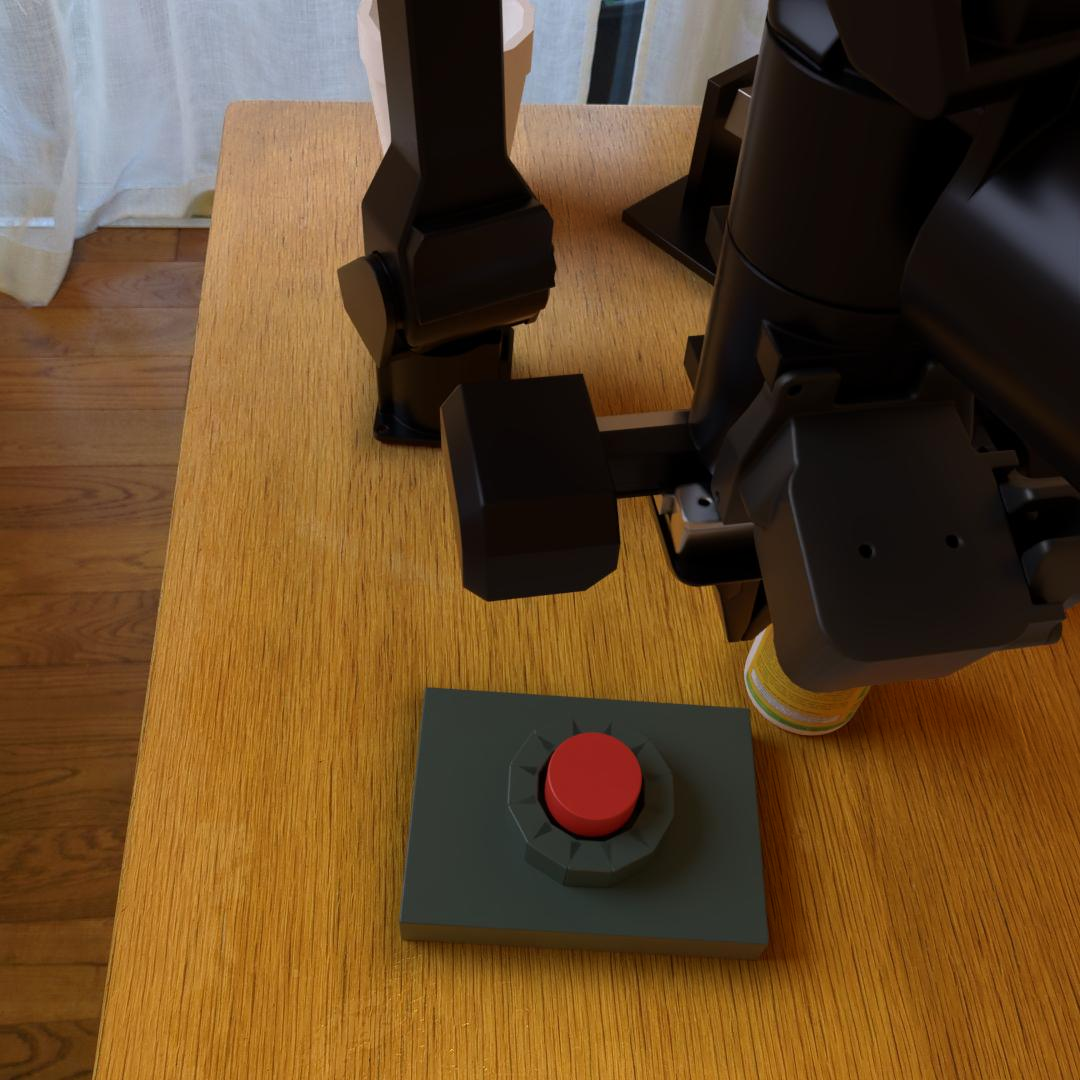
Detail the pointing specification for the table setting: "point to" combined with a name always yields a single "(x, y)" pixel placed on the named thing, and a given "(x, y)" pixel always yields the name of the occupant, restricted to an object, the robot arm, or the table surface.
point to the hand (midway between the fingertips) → (735, 630)
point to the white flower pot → (515, 61)
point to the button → (592, 784)
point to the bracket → (697, 180)
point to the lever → (739, 112)
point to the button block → (574, 860)
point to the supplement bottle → (794, 694)
